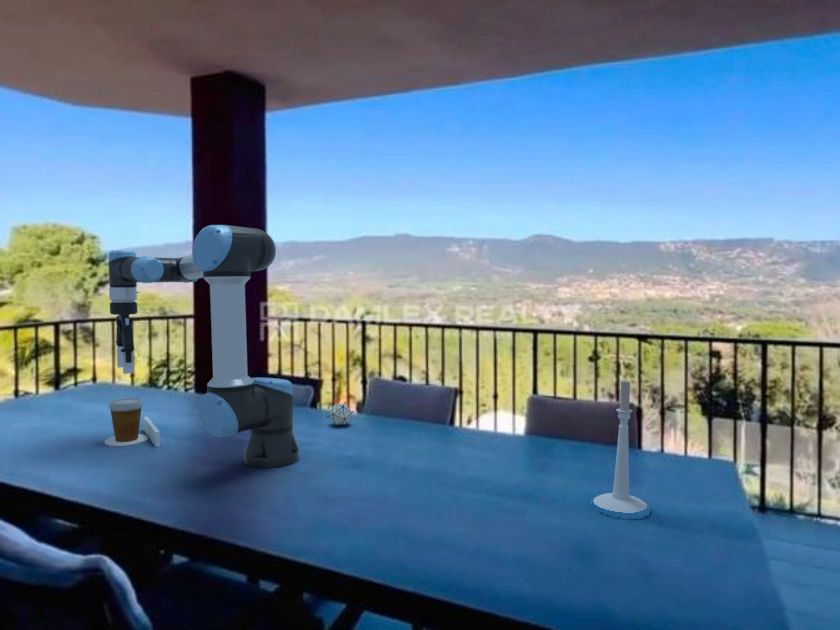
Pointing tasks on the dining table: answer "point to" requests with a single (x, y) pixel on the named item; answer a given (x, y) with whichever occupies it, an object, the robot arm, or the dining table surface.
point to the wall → (152, 432)
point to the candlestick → (621, 465)
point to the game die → (340, 414)
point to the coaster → (113, 442)
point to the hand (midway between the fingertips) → (125, 370)
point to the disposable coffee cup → (126, 418)
